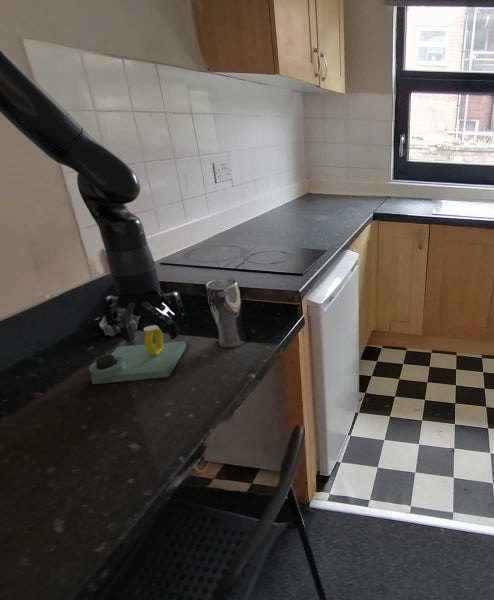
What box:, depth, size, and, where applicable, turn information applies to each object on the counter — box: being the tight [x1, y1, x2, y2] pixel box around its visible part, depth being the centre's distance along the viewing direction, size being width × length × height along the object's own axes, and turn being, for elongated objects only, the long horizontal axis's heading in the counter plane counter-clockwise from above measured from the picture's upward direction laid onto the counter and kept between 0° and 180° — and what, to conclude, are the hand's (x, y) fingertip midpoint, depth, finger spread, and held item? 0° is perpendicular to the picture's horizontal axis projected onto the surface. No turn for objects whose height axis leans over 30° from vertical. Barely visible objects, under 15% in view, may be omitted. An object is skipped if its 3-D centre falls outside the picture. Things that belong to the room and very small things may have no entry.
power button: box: [95, 354, 116, 369], centre depth 80 cm, size 3×3×2 cm
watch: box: [143, 324, 164, 356], centre depth 86 cm, size 6×3×6 cm, turn 12°
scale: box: [88, 341, 187, 385], centre depth 85 cm, size 14×13×4 cm
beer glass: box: [205, 277, 247, 348], centre depth 92 cm, size 7×7×15 cm
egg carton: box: [98, 307, 141, 337], centre depth 102 cm, size 11×8×4 cm
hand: (153, 339), depth 87 cm, fingers open, 8 cm apart
